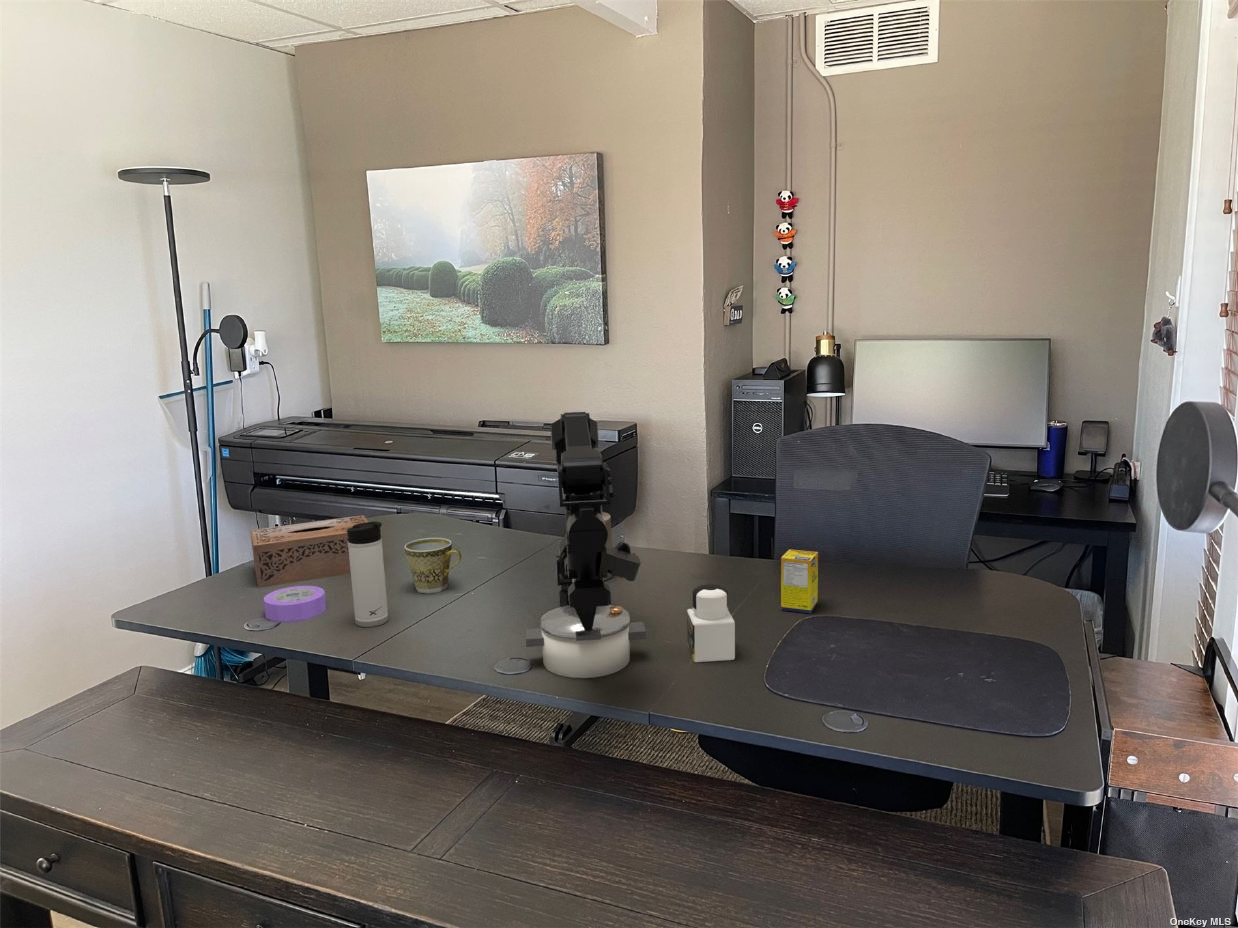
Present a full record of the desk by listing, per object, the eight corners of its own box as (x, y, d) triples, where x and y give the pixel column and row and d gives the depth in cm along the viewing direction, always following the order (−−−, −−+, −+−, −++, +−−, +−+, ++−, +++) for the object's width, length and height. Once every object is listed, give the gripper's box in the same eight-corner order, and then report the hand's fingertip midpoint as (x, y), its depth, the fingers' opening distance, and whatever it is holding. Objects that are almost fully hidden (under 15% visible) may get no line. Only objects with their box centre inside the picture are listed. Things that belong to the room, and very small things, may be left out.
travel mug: (381, 628, 171) (372, 527, 167) (349, 626, 172) (340, 527, 168) (395, 616, 177) (387, 519, 173) (364, 614, 178) (356, 518, 174)
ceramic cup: (398, 593, 190) (394, 548, 188) (425, 578, 199) (422, 535, 197) (450, 600, 185) (447, 554, 183) (475, 584, 194) (472, 540, 192)
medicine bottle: (687, 646, 158) (686, 582, 156) (726, 643, 159) (726, 579, 156) (693, 663, 151) (693, 596, 149) (735, 660, 152) (735, 593, 150)
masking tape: (303, 598, 190) (301, 581, 189) (338, 608, 183) (336, 591, 182) (253, 615, 180) (251, 597, 179) (288, 627, 174) (286, 608, 173)
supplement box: (817, 604, 177) (818, 551, 175) (810, 614, 171) (811, 560, 169) (788, 600, 179) (788, 548, 177) (780, 610, 174) (780, 557, 172)
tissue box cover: (367, 554, 220) (363, 515, 218) (377, 570, 207) (373, 529, 205) (255, 570, 210) (250, 529, 208) (258, 589, 197) (253, 545, 195)
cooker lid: (540, 612, 160) (540, 601, 159) (625, 607, 161) (624, 596, 161) (541, 645, 143) (541, 633, 143) (635, 639, 144) (635, 627, 144)
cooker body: (527, 643, 162) (526, 612, 160) (639, 636, 163) (638, 605, 162) (527, 682, 146) (525, 647, 145) (650, 673, 148) (649, 639, 147)
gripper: (643, 550, 130) (646, 649, 134) (629, 517, 149) (632, 606, 152) (567, 554, 129) (571, 654, 133) (562, 521, 148) (566, 610, 151)
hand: (588, 629), depth 142 cm, fingers closed
